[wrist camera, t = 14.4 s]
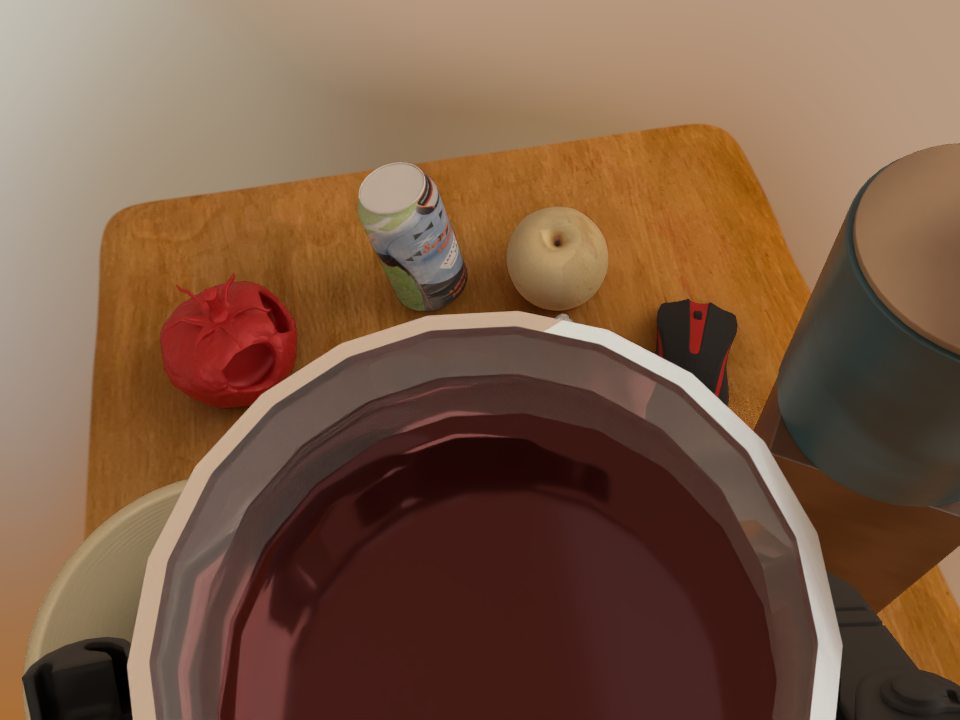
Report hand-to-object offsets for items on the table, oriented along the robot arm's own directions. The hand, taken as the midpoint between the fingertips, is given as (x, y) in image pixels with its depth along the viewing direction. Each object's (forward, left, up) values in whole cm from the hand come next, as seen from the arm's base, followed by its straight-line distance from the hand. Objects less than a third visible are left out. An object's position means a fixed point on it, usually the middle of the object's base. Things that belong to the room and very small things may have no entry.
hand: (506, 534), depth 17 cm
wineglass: (-2, +3, -4) cm, 5 cm away
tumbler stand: (-10, -16, -40) cm, 44 cm away
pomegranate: (+31, -18, -41) cm, 54 cm away
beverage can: (+21, -30, -41) cm, 55 cm away
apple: (+11, -34, -41) cm, 54 cm away
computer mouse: (-1, -30, -41) cm, 50 cm away
